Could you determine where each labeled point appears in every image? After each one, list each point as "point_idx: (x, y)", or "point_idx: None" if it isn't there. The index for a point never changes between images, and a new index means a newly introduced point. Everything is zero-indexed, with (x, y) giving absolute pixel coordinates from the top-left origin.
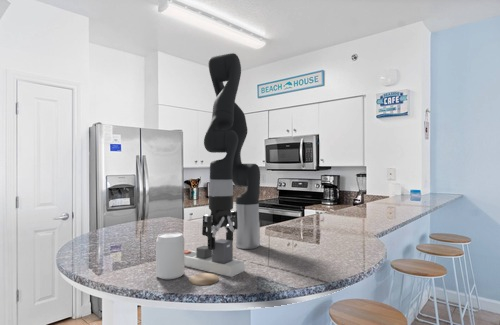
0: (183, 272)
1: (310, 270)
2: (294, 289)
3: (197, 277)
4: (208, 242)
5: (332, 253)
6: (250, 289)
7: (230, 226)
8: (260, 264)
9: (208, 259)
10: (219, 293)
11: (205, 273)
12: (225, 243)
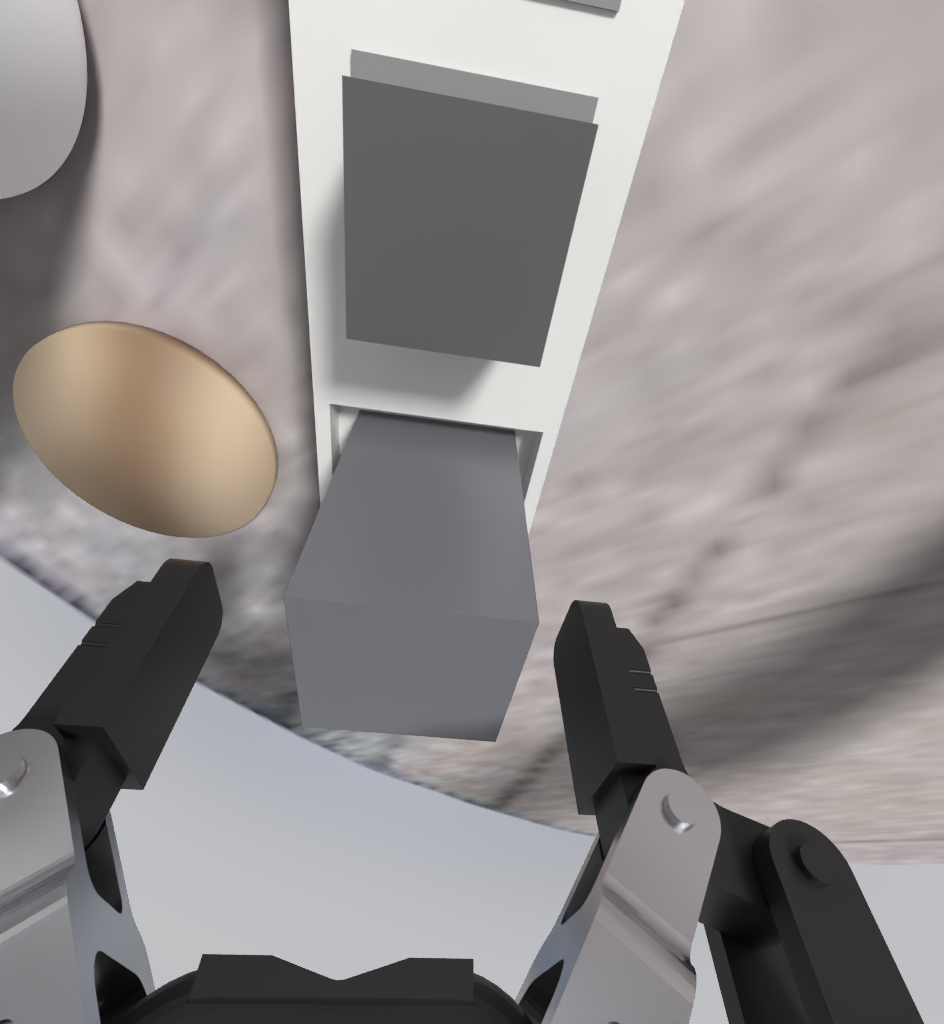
0: (10, 195)
1: None
2: (370, 767)
3: (108, 394)
4: (80, 662)
5: (928, 786)
6: (257, 679)
7: (523, 983)
8: (668, 607)
9: (380, 355)
10: (100, 605)
11: (231, 401)
12: (344, 722)
